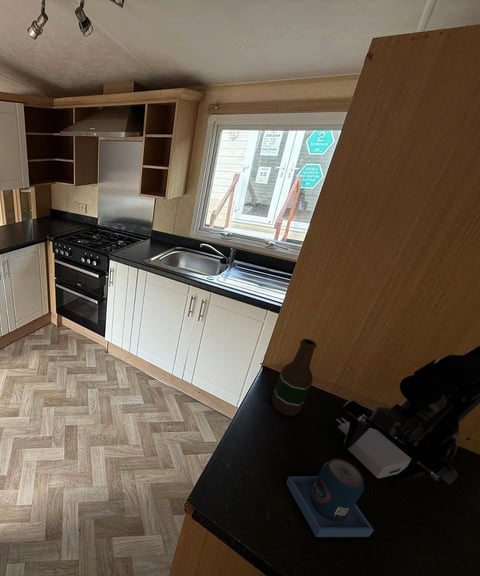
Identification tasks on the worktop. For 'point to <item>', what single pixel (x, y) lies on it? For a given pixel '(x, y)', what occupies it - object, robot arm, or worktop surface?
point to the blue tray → (319, 524)
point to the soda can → (336, 489)
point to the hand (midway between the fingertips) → (365, 465)
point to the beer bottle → (294, 381)
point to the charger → (377, 452)
